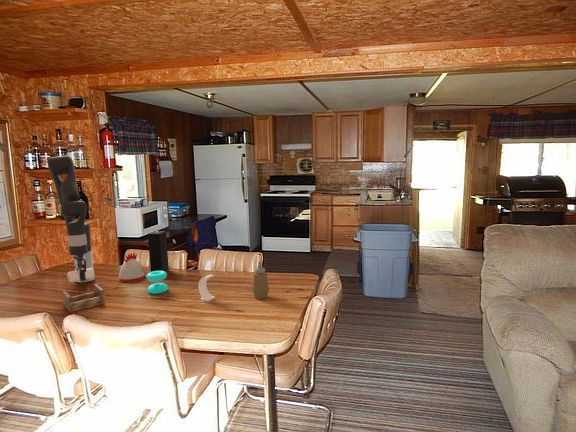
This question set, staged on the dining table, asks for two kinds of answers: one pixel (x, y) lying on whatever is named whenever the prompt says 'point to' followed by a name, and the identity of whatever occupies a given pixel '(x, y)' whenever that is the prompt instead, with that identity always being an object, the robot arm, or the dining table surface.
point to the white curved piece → (205, 289)
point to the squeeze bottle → (260, 282)
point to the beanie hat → (131, 270)
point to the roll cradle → (84, 299)
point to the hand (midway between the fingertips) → (81, 278)
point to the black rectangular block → (158, 250)
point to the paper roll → (75, 275)
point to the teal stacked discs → (157, 287)
